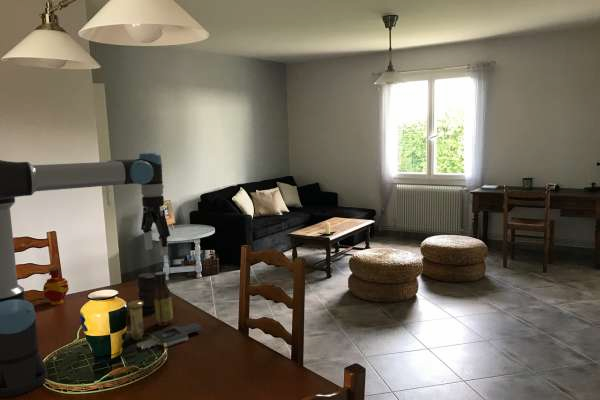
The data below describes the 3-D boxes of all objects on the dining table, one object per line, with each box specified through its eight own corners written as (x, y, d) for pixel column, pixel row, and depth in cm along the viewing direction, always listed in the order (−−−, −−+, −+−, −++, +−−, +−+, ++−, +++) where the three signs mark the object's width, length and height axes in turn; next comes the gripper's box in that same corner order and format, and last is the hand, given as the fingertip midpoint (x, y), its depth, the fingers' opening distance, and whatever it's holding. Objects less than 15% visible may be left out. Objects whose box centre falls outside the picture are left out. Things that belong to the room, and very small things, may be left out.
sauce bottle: (175, 320, 180) (172, 270, 178) (169, 326, 174) (166, 275, 171) (159, 320, 181) (156, 270, 178) (152, 326, 175) (149, 275, 172)
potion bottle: (38, 307, 198) (35, 272, 196) (52, 298, 208) (49, 266, 206) (62, 306, 198) (59, 272, 196) (75, 298, 208) (72, 265, 206)
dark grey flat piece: (144, 353, 152) (144, 346, 152) (134, 344, 159) (134, 338, 159) (204, 334, 167) (204, 328, 166) (193, 327, 173) (192, 320, 173)
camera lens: (149, 315, 186) (147, 279, 184) (135, 312, 190) (133, 276, 188) (164, 309, 193) (162, 273, 191) (151, 305, 197) (148, 271, 195)
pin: (133, 342, 161) (131, 306, 159) (128, 338, 165) (125, 302, 163) (148, 338, 164) (145, 302, 163) (142, 333, 168) (140, 299, 167)
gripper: (177, 197, 163) (180, 256, 166) (149, 192, 182) (152, 245, 185) (157, 199, 158) (160, 260, 161) (129, 193, 177) (133, 248, 180)
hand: (156, 252), depth 173 cm, fingers open, 13 cm apart
